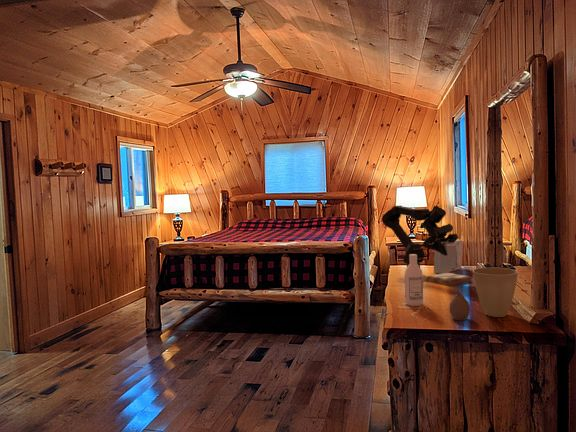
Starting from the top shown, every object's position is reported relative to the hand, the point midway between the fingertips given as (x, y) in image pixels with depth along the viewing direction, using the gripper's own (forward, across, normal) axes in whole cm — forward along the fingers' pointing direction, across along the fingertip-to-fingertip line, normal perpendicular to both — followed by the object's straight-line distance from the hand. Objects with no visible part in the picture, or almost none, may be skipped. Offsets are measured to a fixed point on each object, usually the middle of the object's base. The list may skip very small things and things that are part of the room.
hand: (450, 254), depth 224 cm
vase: (+40, -42, -21) cm, 61 cm away
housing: (+4, 0, +6) cm, 7 cm away
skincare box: (-5, +21, +25) cm, 33 cm away
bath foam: (+23, -40, -4) cm, 46 cm away
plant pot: (+42, -27, -24) cm, 55 cm away
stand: (+8, +1, +11) cm, 14 cm away
